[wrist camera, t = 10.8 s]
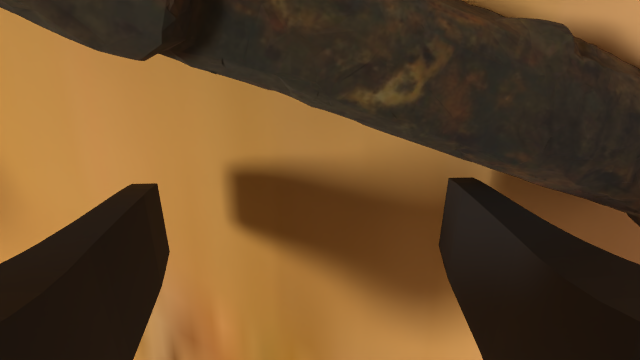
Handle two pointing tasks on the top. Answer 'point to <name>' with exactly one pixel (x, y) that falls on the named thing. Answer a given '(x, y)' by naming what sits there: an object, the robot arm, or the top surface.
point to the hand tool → (404, 75)
